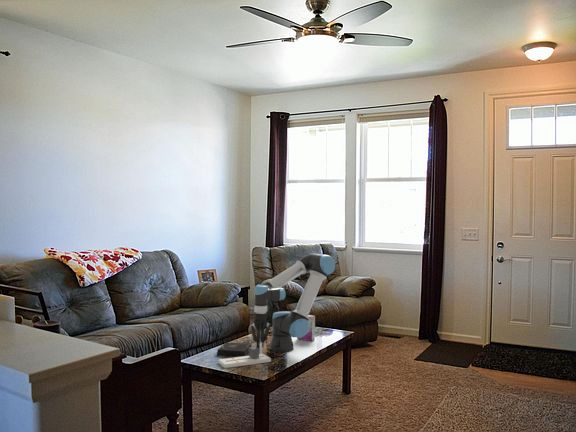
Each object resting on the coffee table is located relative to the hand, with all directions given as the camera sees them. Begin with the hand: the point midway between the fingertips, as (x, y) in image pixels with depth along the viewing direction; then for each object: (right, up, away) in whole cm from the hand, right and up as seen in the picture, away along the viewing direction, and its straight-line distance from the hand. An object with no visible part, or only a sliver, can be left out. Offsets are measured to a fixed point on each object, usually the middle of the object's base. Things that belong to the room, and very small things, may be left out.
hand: (259, 353), depth 296 cm
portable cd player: (-16, -4, +15) cm, 23 cm away
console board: (-8, -4, -4) cm, 10 cm away
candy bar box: (+28, -4, +49) cm, 57 cm away
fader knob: (-3, -2, -2) cm, 4 cm away
